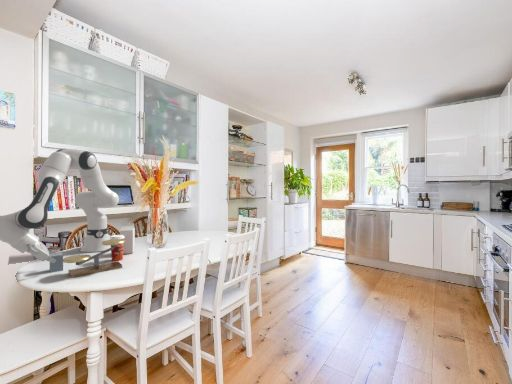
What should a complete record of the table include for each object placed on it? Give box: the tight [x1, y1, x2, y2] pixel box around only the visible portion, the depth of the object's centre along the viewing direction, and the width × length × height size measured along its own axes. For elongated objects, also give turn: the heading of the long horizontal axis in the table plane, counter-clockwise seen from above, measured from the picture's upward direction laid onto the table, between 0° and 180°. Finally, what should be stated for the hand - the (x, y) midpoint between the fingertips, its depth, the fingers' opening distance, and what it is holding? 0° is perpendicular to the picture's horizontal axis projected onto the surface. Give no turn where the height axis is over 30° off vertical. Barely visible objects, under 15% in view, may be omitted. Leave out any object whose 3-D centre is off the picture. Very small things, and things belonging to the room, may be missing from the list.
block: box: [49, 252, 64, 273], centre depth 126 cm, size 5×5×8 cm
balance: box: [63, 239, 126, 279], centre depth 127 cm, size 11×27×14 cm, turn 133°
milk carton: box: [119, 222, 136, 255], centre depth 160 cm, size 7×7×19 cm
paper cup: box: [110, 234, 125, 262], centre depth 145 cm, size 8×8×14 cm
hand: (54, 259), depth 126 cm, fingers open, 8 cm apart
